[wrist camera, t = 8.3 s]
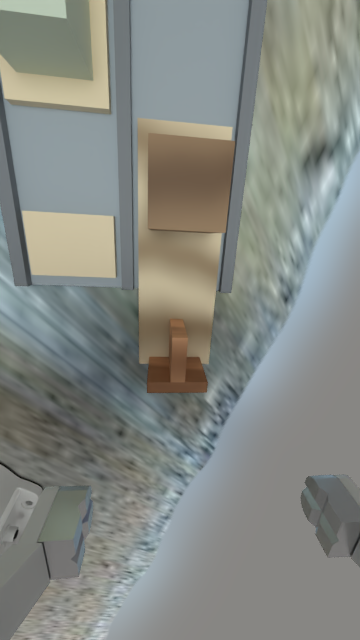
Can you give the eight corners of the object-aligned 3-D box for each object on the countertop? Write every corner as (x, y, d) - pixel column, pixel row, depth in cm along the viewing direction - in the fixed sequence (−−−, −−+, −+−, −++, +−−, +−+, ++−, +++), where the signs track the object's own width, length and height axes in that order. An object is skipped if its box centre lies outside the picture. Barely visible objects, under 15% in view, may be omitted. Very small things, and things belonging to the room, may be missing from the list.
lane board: (225, 288, 24) (231, 292, 22) (26, 282, 22) (15, 285, 20) (262, -22, 17) (273, -51, 15) (-32, -69, 15) (-56, -108, 13)
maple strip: (206, 361, 25) (218, 392, 20) (139, 361, 25) (134, 393, 20) (229, 131, 18) (254, 94, 14) (138, 122, 18) (130, 80, 13)
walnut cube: (210, 233, 20) (225, 232, 15) (150, 230, 20) (147, 228, 15) (216, 164, 18) (235, 140, 14) (151, 159, 18) (148, 132, 13)
